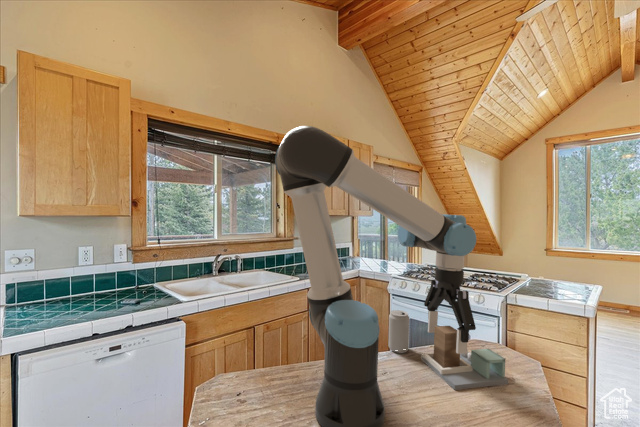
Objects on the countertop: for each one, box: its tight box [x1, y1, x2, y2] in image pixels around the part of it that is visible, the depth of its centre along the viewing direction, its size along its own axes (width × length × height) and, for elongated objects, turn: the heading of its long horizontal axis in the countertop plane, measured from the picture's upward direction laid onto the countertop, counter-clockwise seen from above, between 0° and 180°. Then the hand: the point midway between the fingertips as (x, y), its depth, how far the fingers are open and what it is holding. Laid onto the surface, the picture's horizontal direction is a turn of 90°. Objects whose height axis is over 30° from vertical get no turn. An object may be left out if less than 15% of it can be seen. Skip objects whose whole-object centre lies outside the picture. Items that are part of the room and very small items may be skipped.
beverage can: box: [387, 309, 410, 354], centre depth 98 cm, size 6×6×12 cm
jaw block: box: [433, 325, 460, 368], centre depth 87 cm, size 5×5×10 cm
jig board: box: [420, 349, 509, 391], centre depth 86 cm, size 16×16×3 cm
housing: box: [470, 348, 506, 379], centre depth 83 cm, size 6×6×5 cm
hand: (445, 341), depth 87 cm, fingers open, 13 cm apart
